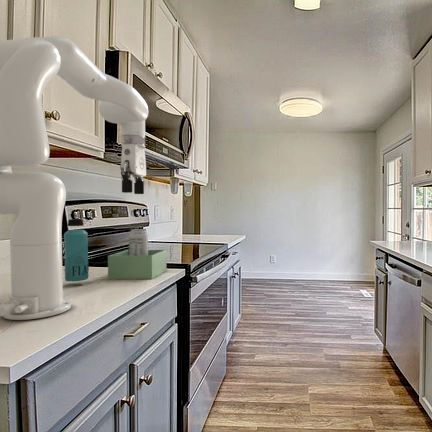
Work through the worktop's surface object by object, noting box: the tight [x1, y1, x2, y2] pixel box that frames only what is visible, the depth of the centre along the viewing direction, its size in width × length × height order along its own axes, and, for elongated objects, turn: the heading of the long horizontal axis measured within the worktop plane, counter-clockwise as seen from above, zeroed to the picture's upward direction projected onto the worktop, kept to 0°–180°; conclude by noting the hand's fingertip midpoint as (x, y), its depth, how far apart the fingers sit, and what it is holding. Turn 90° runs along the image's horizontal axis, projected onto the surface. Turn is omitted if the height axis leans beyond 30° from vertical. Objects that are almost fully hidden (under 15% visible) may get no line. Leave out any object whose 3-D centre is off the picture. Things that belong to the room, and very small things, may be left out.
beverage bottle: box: [63, 218, 90, 283], centre depth 108 cm, size 6×7×20 cm
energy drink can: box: [128, 228, 149, 256], centre depth 124 cm, size 6×6×15 cm
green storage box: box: [107, 249, 168, 280], centre depth 124 cm, size 15×14×8 cm
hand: (133, 193), depth 121 cm, fingers open, 9 cm apart
